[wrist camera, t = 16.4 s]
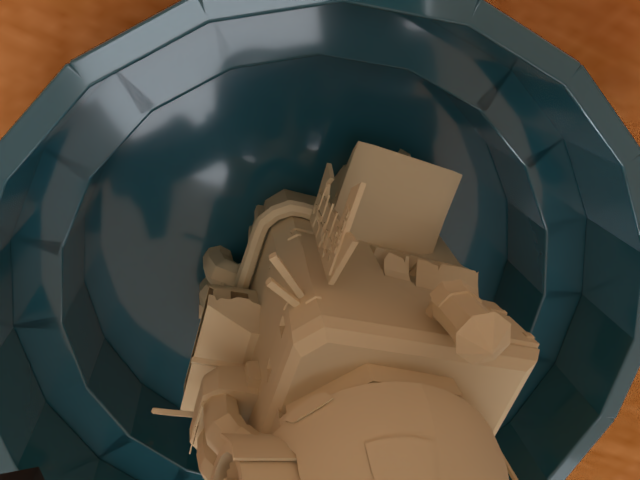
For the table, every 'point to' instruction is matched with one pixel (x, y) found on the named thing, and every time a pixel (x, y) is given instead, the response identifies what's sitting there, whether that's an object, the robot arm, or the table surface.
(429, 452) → the robot
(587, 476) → the table surface
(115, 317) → the shallow teal bowl
